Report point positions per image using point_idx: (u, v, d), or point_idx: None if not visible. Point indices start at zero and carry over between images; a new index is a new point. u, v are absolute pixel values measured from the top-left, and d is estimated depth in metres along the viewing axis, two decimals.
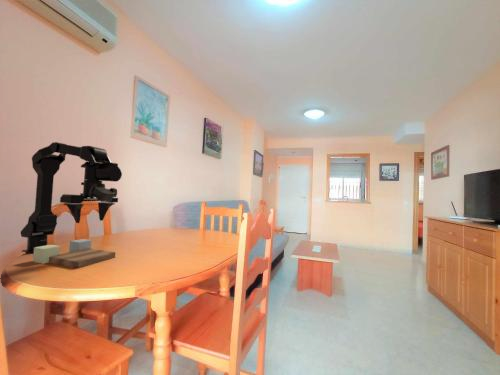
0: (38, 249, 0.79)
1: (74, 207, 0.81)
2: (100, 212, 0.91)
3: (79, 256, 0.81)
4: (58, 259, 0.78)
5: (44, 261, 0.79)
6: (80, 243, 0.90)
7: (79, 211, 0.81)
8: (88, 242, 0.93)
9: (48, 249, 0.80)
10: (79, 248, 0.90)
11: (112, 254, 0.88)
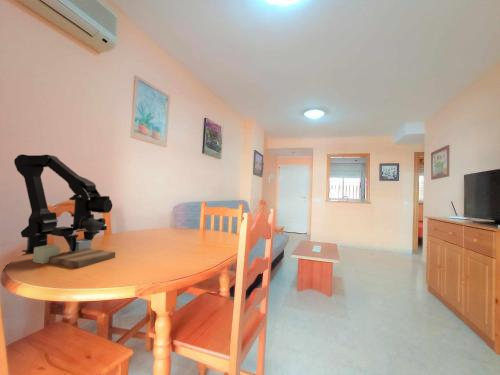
0: (38, 249, 0.79)
1: (70, 237, 0.89)
2: None
3: (79, 256, 0.81)
4: (58, 259, 0.78)
5: (44, 261, 0.79)
6: (80, 243, 0.90)
7: (74, 241, 0.89)
8: (88, 242, 0.93)
9: (48, 249, 0.80)
10: (79, 248, 0.90)
11: (112, 254, 0.88)
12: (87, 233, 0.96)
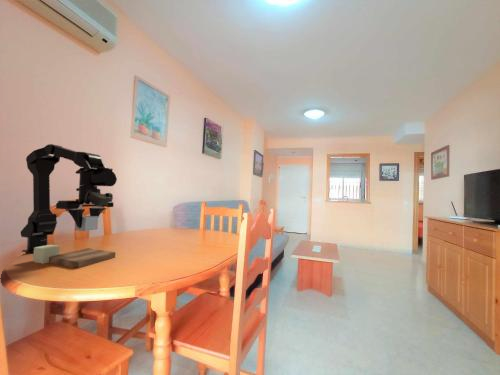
0: (38, 249, 0.79)
1: (76, 212, 0.84)
2: None
3: (79, 256, 0.81)
4: (58, 259, 0.78)
5: (44, 261, 0.79)
6: (87, 218, 0.85)
7: (81, 216, 0.84)
8: (95, 218, 0.88)
9: (48, 249, 0.80)
10: (86, 223, 0.84)
11: (112, 254, 0.88)
12: (93, 210, 0.90)
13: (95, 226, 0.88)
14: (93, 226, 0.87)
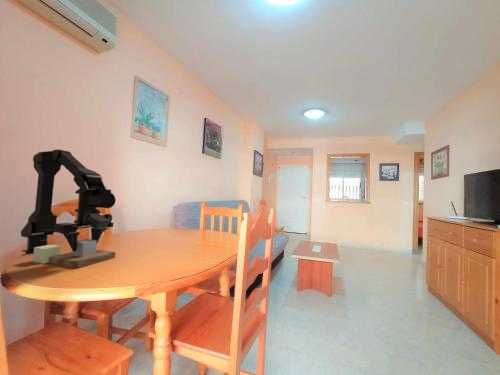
0: (38, 249, 0.79)
1: (70, 235, 0.80)
2: (93, 238, 0.88)
3: (79, 256, 0.81)
4: (58, 259, 0.78)
5: (44, 261, 0.79)
6: (84, 243, 0.82)
7: (75, 239, 0.80)
8: (93, 242, 0.85)
9: (48, 249, 0.80)
10: (83, 249, 0.81)
11: (112, 254, 0.88)
12: (95, 230, 0.89)
13: (93, 251, 0.85)
14: (91, 251, 0.84)
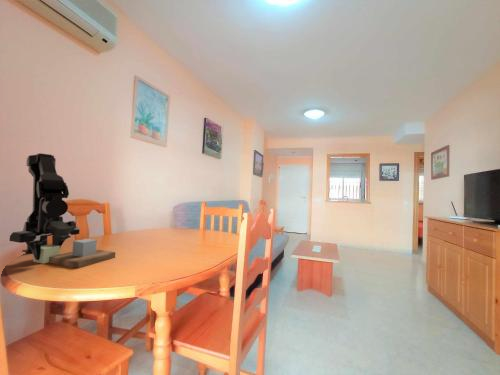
0: None
1: (33, 243, 0.78)
2: None
3: (79, 256, 0.81)
4: (58, 259, 0.78)
5: (44, 261, 0.79)
6: (84, 243, 0.82)
7: (38, 248, 0.78)
8: (93, 242, 0.85)
9: (48, 249, 0.80)
10: (83, 249, 0.81)
11: (112, 254, 0.88)
12: (56, 238, 0.85)
13: (93, 251, 0.85)
14: (91, 251, 0.84)
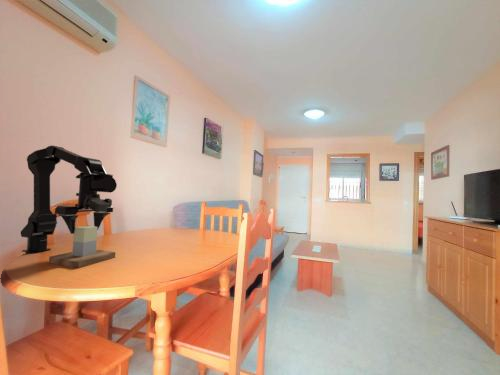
0: (78, 229, 0.82)
1: (69, 218, 0.82)
2: (95, 222, 0.92)
3: (79, 256, 0.81)
4: (58, 259, 0.78)
5: (84, 240, 0.82)
6: (84, 243, 0.82)
7: (74, 222, 0.82)
8: (93, 242, 0.85)
9: (88, 229, 0.83)
10: (83, 249, 0.81)
11: (112, 254, 0.88)
12: (97, 214, 0.92)
13: (93, 251, 0.85)
14: (91, 251, 0.84)
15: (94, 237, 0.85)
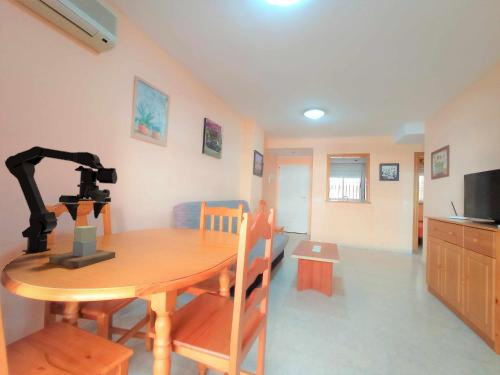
0: (77, 228, 0.83)
1: (71, 206, 0.91)
2: (95, 211, 1.01)
3: (79, 256, 0.81)
4: (58, 259, 0.78)
5: (82, 240, 0.82)
6: (84, 243, 0.82)
7: (76, 210, 0.91)
8: (93, 242, 0.85)
9: (86, 229, 0.83)
10: (83, 249, 0.81)
11: (112, 254, 0.88)
12: (96, 204, 1.02)
13: (93, 251, 0.85)
14: (91, 251, 0.84)
15: (93, 237, 0.85)
